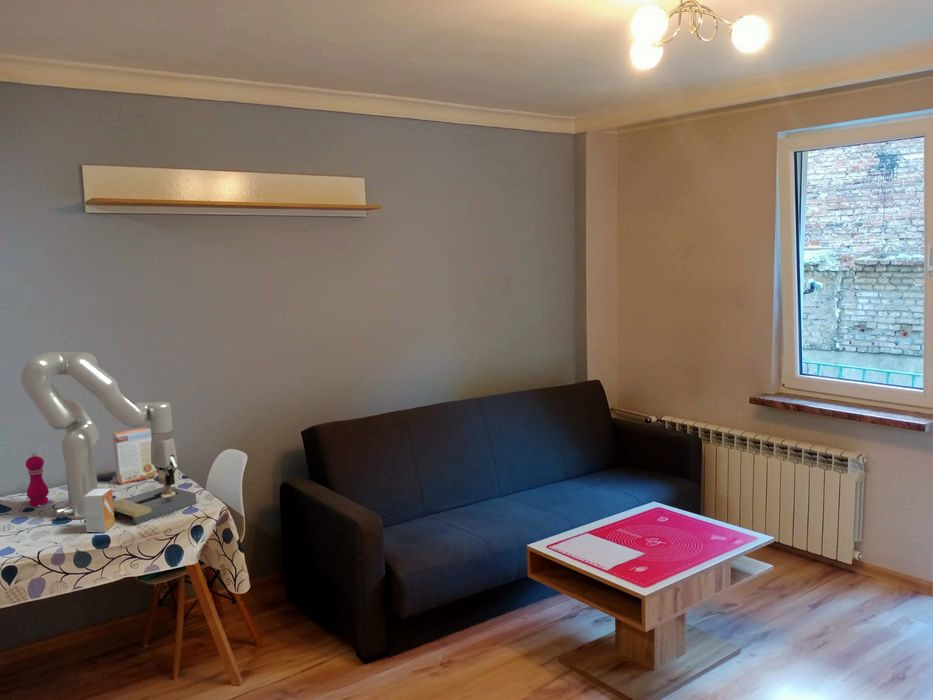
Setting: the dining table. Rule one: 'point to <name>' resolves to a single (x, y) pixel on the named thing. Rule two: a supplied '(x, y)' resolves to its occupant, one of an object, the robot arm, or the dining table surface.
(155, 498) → the keyhole plate
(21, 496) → the dining table surface
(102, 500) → the small box
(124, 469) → the cracker box
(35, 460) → the pepper mill
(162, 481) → the maple peg
